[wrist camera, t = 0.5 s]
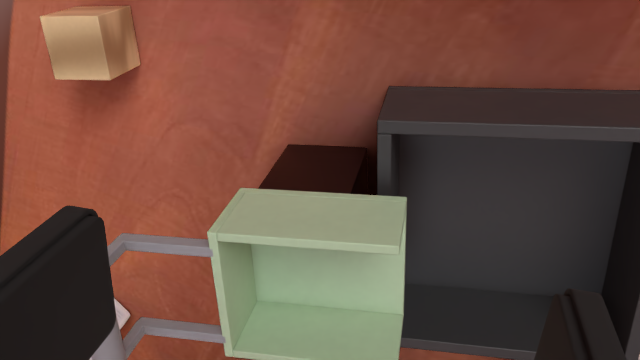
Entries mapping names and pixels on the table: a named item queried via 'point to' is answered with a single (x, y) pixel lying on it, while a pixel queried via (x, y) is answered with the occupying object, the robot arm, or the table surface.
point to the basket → (512, 211)
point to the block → (91, 42)
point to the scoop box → (291, 278)
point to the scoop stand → (320, 170)
